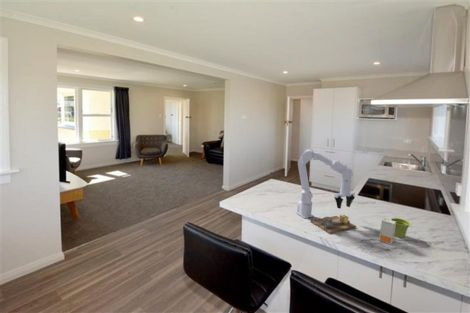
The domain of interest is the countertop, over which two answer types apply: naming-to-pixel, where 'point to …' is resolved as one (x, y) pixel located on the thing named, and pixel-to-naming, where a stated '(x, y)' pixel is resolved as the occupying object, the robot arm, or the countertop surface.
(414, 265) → the countertop surface
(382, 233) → the skincare box
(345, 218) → the leg
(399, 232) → the plant pot
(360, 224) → the countertop surface
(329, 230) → the board
